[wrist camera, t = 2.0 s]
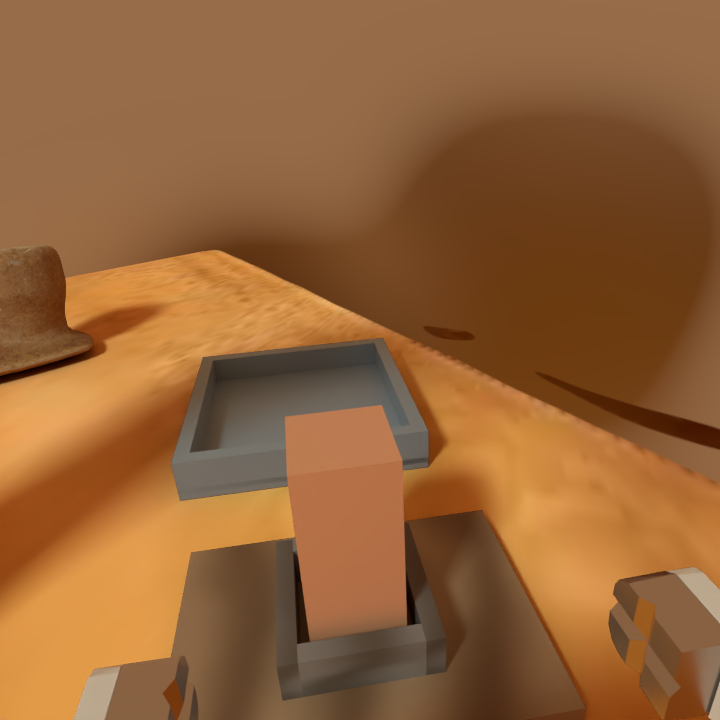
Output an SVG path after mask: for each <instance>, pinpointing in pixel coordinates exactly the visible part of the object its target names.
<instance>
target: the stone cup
mask: <svg viewBox="0 0 720 720" xmlns="http://www.w3.org/2000/svg"><path fill="white" fill-rule="evenodd" d="M65 298H66V280H65V276H64V272H63V268H62V264H61V260H60V257H59V255H58V253H57V251H56V250H55V249H54V248H52V247H50V246H46V245H39V246H38V245H36V246H24V247H13V248H5V249H4V248H3V249H0V376H3V375H7V374H11V373H15V372H19V371H23V370H27V369H30V368H34V367H38V366H42V365H45V364H48V363H52V362H56V361H59V360H62V359H65V358H68V357H71V356H75V355H78V354H80V353H83V352H86V351H88V350H90V349H91V348H92V347H93V344H94V343H93V339H92V337H91V336H90V335H88V334H86V333H83V332H80V331H76V330H72V329H71V328H70V327H68V325H67V321H66V317H65Z"/></svg>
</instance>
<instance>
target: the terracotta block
mask: <svg viewBox="0 0 720 720" xmlns="http://www.w3.org/2000/svg"><path fill="white" fill-rule="evenodd" d="M285 433H286V463H287V480H288V487H289V495H290V502H291V509H292V516H293V523H294V531H295V538H296V545H297V552H298V559H299V566H300V574H301V581H302V588H303V595H304V602H305V610H306V617H307V624H308V631H309V638H310V642H313V641H319V640H325V639H331V638H337V637H343V636H349V635H355V634H361V633H367V632H373V631H379V630H385V629H391V628H397V627H403V626H407V606H406V571H405V535H404V499H403V464H402V458H401V456H400V453H399V450H398V447H397V445H396V442H395V439H394V437H393V434H392V431H391V429H390V426H389V423H388V421H387V418H386V415H385V412H384V410H383V407H382V405H378V406H369V407H361V408H353V409H345V410H337V411H328V412H320V413H312V414H304V415H295V416H287V417H285Z"/></svg>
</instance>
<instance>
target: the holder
mask: <svg viewBox="0 0 720 720" xmlns="http://www.w3.org/2000/svg"><path fill="white" fill-rule="evenodd" d="M404 535H405V571H406V606H407V626H403V627H397V628H391V629H385V630H379V631H373V632H367V633H361V634H355V635H349V636H343V637H337V638H331V639H325V640H319V641H313V642H310V638H309V631H308V624H307V617H306V610H305V602H304V595H303V588H302V581H301V574H300V566H299V559H298V552H297V545H296V538H295V537H294V538H287V539H280V540H273V541H266V542H259V543H253V544H246V545H239V546H232V547H225V548H218V549H211V550H205V551H198V552H191V556H190V561H189V566H188V571H187V576H186V582H185V587H184V592H183V597H182V602H181V608H180V613H179V618H178V623H177V628H176V634H175V639H174V644H173V649H172V654H171V657H178V656H185V658H186V661H187V663H188V666H189V672H188V679H187V681H189V682H190V683H192V684H194V686H195V690H196V693H197V700H198V720H584V718H585V712H586V706H585V704H584V703H583V701H582V699H581V697H580V695H579V693H578V691H577V689H576V687H575V685H574V684H573V682H572V680H571V678H570V676H569V674H568V672H567V670H566V668H565V667H564V665H563V663H562V661H561V659H560V657H559V655H558V653H557V651H556V649H555V648H554V646H553V644H552V642H551V640H550V638H549V636H548V634H547V632H546V631H545V629H544V627H543V625H542V623H541V621H540V619H539V617H538V615H537V613H536V612H535V610H534V608H533V606H532V604H531V602H530V600H529V598H528V596H527V594H526V593H525V591H524V589H523V587H522V585H521V583H520V581H519V579H518V577H517V576H516V574H515V572H514V570H513V568H512V566H511V564H510V562H509V560H508V558H507V557H506V555H505V553H504V551H503V549H502V547H501V545H500V543H499V541H498V540H497V538H496V536H495V534H494V532H493V530H492V528H491V526H490V524H489V522H488V521H487V519H486V517H485V515H484V513H483V511H482V510H479V511H472V512H465V513H458V514H451V515H444V516H438V517H431V518H424V519H417V520H410V521H404Z"/></svg>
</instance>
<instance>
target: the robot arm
mask: <svg viewBox="0 0 720 720" xmlns="http://www.w3.org/2000/svg"><path fill="white" fill-rule="evenodd" d="M613 595H614V596H615V597H616V599H617V600H618V603H617V604H616V605H615V606H614V607H613V608H612V609H611V610H610V616H609V628H610V633H611V638H612V640H613V643H614V645H615V647H616V649H617V651H618V653H619V655H620V656H621V658H622V659H623V661H624V663H625V664H627V665H628V666H630V667H631V668H633V669H634V670H636V671H638V672H639V673H640V687H641V689H642V690H643V692H644V694H645V695H646V697H647V698H648V700H649V701H650V703H651V704H652V706H653V707H654V709H655V710H656V712H657V713H658V715H659V717H660V718H661V720H679V719H685V718H691V717H697V716H703V715H709V716H708V718H710V719H711V720H720V590H719V589H718V588H717V586H716V585H715V584H714V583H713V582H712V581H711V580H710V579H709V578H708V577H707V576H706V575H705V574H704V573H703V572H702V571H701V570H699V569H697V568H695V567H689V568H683V569H677V570H672V571H662V572H657V573H652V574H646V575H641V576H636V577H630V578H625V579H620V580H619V581H618V582H617V583H616V584H615V587H614V592H613ZM188 672H189V666H188V663H187V661H186V658H185V656H178V657H171V658H164V659H157V660H150V661H143V662H136V663H129V664H123V665H117V666H110V667H104V668H98V669H94V670H93V672H92V673H91V675H90V676H89V678H88V679H87V682H86V685H85V688H84V691H83V694H82V697H81V699H80V702H79V705H78V708H77V711H76V714H75V717H74V720H198V700H197V693H196V690H195V686H194V684H192V683H190V682H189V681H187V679H188Z"/></svg>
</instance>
